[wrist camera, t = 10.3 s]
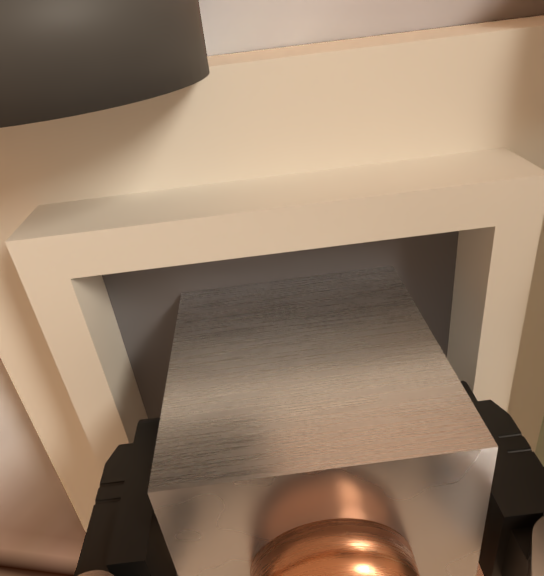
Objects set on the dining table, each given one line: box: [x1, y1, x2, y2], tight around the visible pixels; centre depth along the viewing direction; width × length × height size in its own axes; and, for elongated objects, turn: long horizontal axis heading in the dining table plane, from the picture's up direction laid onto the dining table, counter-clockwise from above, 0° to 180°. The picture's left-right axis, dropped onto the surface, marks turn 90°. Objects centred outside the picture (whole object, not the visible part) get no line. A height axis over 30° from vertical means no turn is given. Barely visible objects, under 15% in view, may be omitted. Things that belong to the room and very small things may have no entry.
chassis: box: [0, 0, 544, 576], centre depth 13 cm, size 22×20×7 cm
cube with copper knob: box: [148, 266, 498, 576], centre depth 11 cm, size 6×6×7 cm
